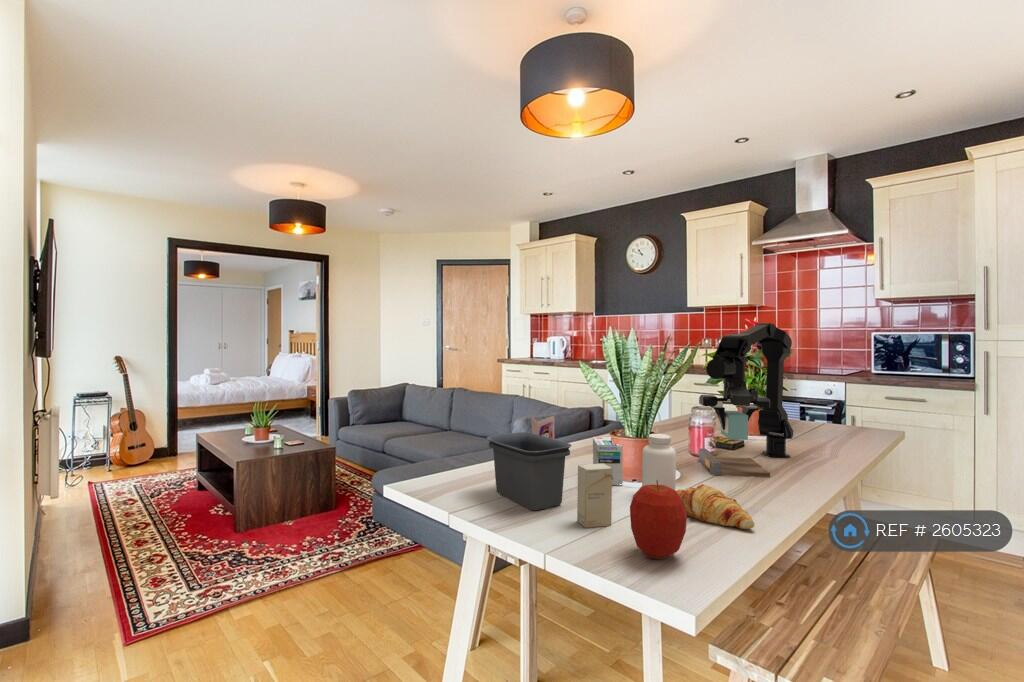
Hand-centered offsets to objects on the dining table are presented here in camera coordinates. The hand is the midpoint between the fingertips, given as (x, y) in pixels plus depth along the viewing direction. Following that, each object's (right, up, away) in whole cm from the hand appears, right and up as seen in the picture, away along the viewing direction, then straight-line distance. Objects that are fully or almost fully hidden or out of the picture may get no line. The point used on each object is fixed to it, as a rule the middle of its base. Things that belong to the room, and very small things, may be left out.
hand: (733, 430), depth 150 cm
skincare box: (-48, -12, -43) cm, 66 cm away
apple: (-39, -13, -58) cm, 71 cm away
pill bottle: (-29, -12, -25) cm, 41 cm away
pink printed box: (-58, -11, 0) cm, 59 cm away
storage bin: (-61, -12, -27) cm, 68 cm away
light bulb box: (-40, -12, -12) cm, 43 cm away
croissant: (-22, -13, -39) cm, 46 cm away
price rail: (-7, -11, +1) cm, 13 cm away
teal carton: (0, -2, 0) cm, 2 cm away
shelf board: (+1, -11, 0) cm, 11 cm away
